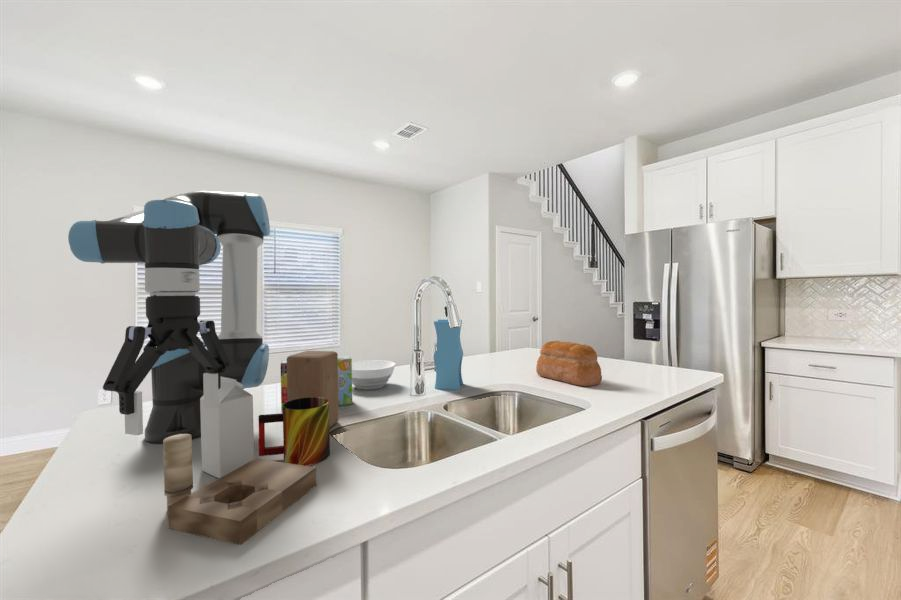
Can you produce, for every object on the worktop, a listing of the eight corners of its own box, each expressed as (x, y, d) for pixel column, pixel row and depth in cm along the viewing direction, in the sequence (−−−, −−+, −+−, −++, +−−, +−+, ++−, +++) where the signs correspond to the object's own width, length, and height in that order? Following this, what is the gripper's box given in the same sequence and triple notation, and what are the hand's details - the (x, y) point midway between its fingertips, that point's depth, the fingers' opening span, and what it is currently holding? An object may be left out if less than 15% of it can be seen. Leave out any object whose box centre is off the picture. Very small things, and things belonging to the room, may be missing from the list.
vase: (438, 382, 156) (437, 319, 155) (463, 383, 154) (462, 319, 153) (433, 389, 146) (433, 321, 145) (460, 389, 144) (460, 321, 144)
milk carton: (220, 480, 77) (217, 383, 77) (201, 471, 81) (199, 379, 81) (254, 466, 83) (252, 376, 83) (235, 458, 87) (233, 372, 87)
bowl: (391, 393, 141) (391, 369, 141) (336, 393, 141) (336, 370, 141) (399, 380, 160) (398, 359, 160) (351, 380, 161) (351, 360, 160)
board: (168, 528, 62) (168, 506, 62) (256, 475, 79) (255, 458, 79) (240, 544, 58) (240, 521, 58) (316, 485, 75) (316, 467, 75)
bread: (584, 389, 145) (584, 347, 145) (532, 375, 167) (532, 340, 167) (606, 383, 153) (606, 344, 152) (554, 372, 175) (554, 337, 174)
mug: (257, 460, 86) (256, 405, 86) (320, 444, 95) (319, 394, 94) (269, 476, 79) (268, 417, 78) (336, 457, 87) (335, 404, 87)
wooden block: (321, 435, 101) (320, 357, 100) (286, 432, 103) (284, 355, 102) (340, 422, 111) (339, 350, 110) (307, 419, 113) (306, 349, 112)
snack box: (351, 400, 132) (350, 355, 132) (352, 405, 127) (351, 358, 126) (282, 406, 125) (281, 359, 125) (280, 412, 120) (279, 362, 120)
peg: (158, 511, 66) (156, 441, 66) (181, 499, 70) (179, 432, 70) (177, 515, 65) (175, 443, 65) (199, 503, 69) (197, 435, 69)
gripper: (106, 295, 54) (110, 450, 54) (249, 293, 77) (251, 401, 78) (68, 295, 56) (72, 445, 56) (218, 294, 80) (221, 399, 80)
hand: (176, 420), depth 67 cm, fingers open, 13 cm apart
